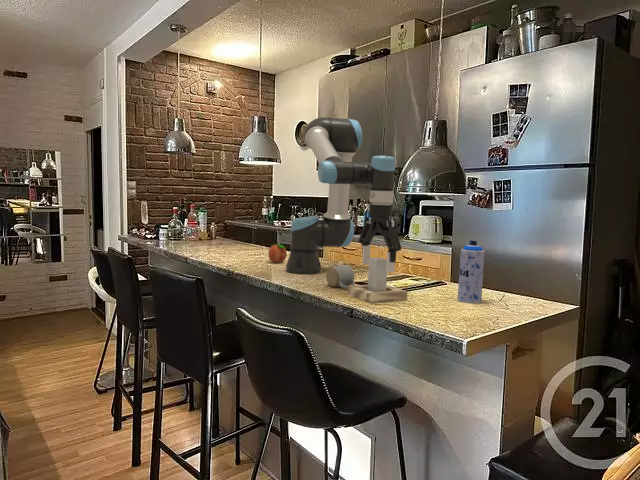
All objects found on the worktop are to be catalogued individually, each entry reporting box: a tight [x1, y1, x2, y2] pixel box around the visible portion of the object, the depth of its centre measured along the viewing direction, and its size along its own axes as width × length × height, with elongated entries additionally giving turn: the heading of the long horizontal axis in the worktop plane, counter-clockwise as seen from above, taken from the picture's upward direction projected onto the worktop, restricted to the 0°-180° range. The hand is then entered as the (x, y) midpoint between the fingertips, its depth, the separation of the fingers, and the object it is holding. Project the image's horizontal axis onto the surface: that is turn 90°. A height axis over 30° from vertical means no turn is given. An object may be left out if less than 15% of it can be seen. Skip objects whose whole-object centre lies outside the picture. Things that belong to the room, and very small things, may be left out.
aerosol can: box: [456, 240, 485, 305], centre depth 155 cm, size 8×8×20 cm
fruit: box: [268, 241, 288, 264], centre depth 224 cm, size 9×10×10 cm
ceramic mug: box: [325, 264, 356, 290], centre depth 172 cm, size 11×8×8 cm
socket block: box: [347, 284, 408, 304], centre depth 157 cm, size 14×14×3 cm
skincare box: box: [367, 257, 388, 292], centre depth 157 cm, size 6×4×12 cm
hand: (377, 268), depth 157 cm, fingers open, 13 cm apart
